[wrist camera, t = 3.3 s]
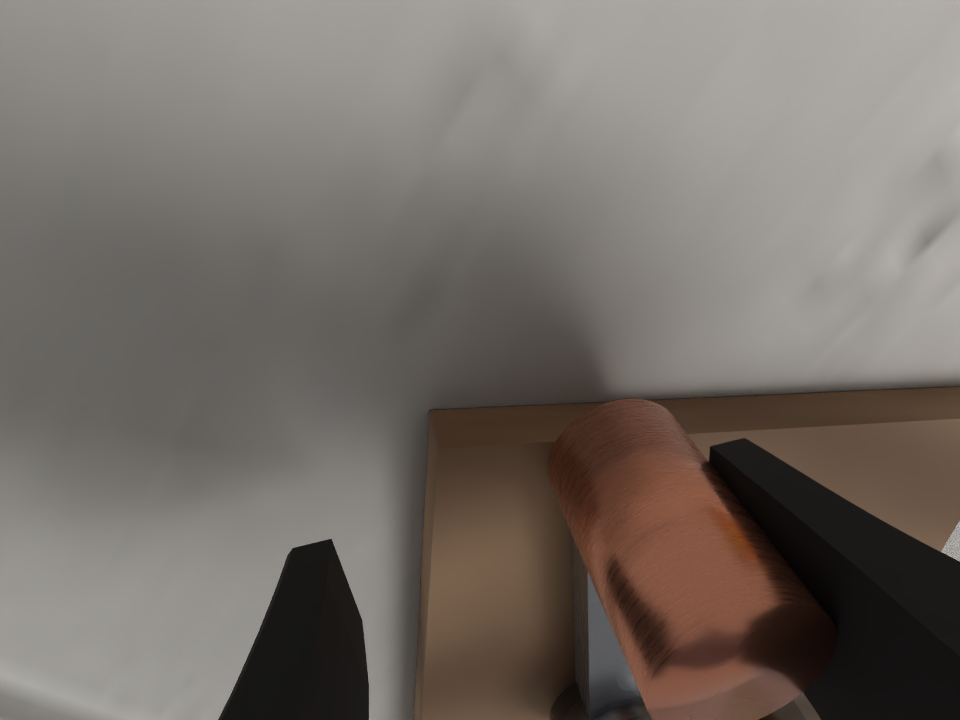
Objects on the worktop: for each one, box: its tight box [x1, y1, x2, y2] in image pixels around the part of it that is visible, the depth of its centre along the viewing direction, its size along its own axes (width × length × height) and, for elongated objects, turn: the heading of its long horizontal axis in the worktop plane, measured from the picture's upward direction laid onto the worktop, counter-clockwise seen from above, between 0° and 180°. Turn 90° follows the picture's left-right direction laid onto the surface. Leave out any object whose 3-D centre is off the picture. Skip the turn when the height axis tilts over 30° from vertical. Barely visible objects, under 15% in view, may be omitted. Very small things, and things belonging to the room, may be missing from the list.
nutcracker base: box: [414, 387, 960, 720], centre depth 16 cm, size 15×13×3 cm
